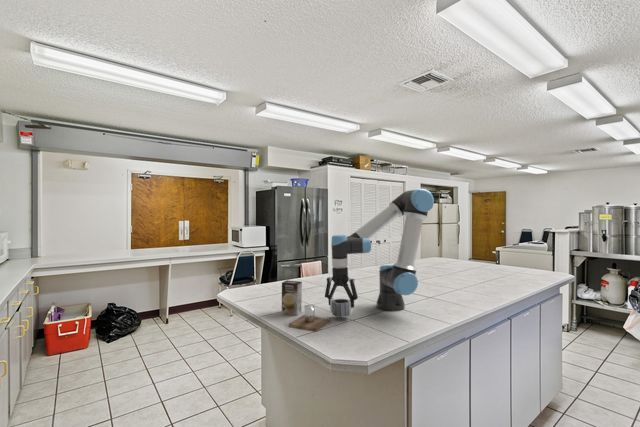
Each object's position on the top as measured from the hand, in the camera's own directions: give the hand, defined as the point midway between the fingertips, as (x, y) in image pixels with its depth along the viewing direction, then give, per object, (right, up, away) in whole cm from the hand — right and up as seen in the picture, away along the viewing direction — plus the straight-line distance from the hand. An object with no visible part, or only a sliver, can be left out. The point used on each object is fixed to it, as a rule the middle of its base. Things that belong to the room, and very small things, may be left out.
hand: (341, 312), depth 152 cm
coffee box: (-25, -3, +9) cm, 27 cm away
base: (-15, -3, -8) cm, 17 cm away
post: (-15, -1, -8) cm, 17 cm away
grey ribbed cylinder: (0, 0, 0) cm, 0 cm away
